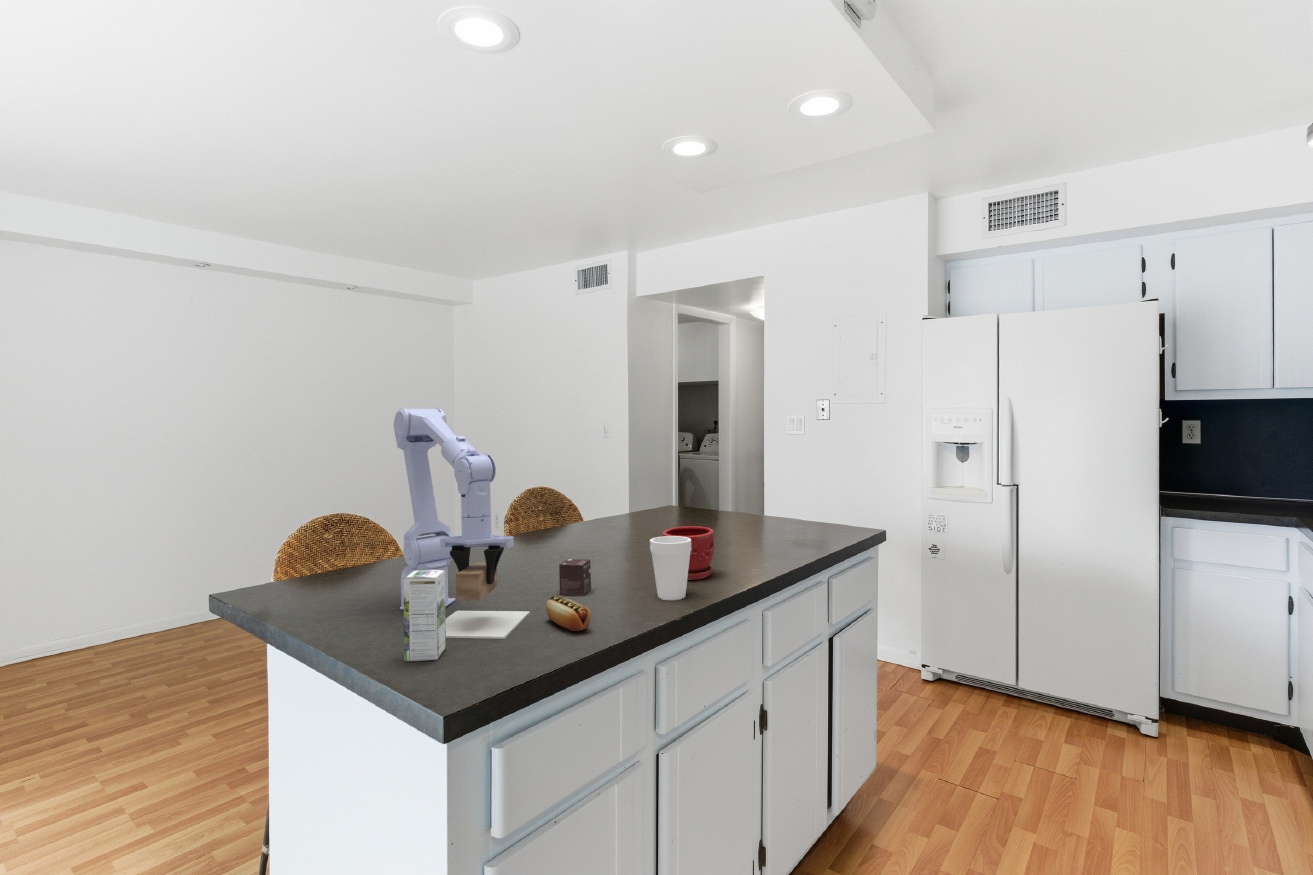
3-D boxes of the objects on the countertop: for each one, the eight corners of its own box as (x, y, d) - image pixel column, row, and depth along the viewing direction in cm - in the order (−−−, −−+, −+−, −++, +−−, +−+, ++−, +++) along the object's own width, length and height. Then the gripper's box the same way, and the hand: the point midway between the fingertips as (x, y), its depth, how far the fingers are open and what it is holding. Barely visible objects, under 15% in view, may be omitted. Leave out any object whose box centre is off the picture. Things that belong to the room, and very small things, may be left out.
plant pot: (666, 570, 175) (665, 525, 174) (715, 570, 173) (715, 525, 172) (660, 582, 162) (659, 534, 161) (713, 583, 160) (712, 534, 160)
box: (583, 596, 150) (583, 564, 150) (559, 595, 152) (558, 564, 151) (591, 589, 156) (590, 559, 156) (567, 588, 158) (567, 558, 157)
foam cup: (669, 604, 142) (668, 545, 142) (642, 596, 149) (641, 540, 149) (700, 596, 148) (699, 539, 148) (673, 588, 155) (672, 534, 155)
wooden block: (476, 586, 135) (475, 562, 135) (497, 586, 135) (496, 562, 135) (456, 599, 125) (455, 574, 125) (479, 599, 125) (478, 574, 125)
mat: (422, 637, 123) (422, 635, 123) (456, 612, 139) (456, 610, 139) (504, 638, 122) (504, 636, 122) (529, 613, 138) (529, 611, 138)
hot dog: (571, 637, 122) (571, 611, 122) (540, 620, 133) (540, 596, 133) (595, 632, 125) (594, 606, 125) (562, 616, 136) (561, 592, 135)
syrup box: (413, 650, 117) (411, 569, 116) (447, 648, 117) (445, 568, 117) (403, 662, 111) (401, 577, 111) (439, 660, 111) (437, 576, 111)
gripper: (432, 518, 127) (434, 587, 127) (504, 518, 125) (506, 588, 126) (447, 513, 134) (449, 579, 134) (516, 513, 132) (518, 579, 133)
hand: (478, 583), depth 130 cm, fingers closed on wooden block, 4 cm apart
